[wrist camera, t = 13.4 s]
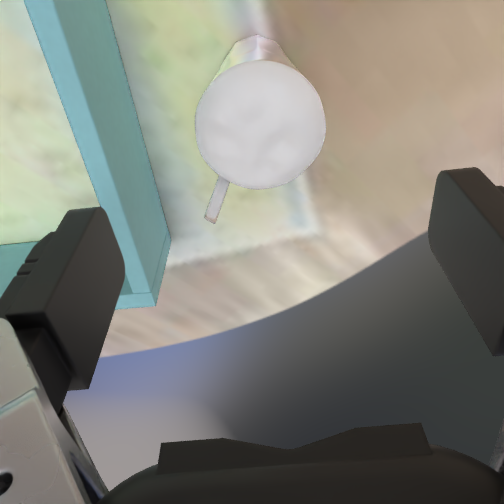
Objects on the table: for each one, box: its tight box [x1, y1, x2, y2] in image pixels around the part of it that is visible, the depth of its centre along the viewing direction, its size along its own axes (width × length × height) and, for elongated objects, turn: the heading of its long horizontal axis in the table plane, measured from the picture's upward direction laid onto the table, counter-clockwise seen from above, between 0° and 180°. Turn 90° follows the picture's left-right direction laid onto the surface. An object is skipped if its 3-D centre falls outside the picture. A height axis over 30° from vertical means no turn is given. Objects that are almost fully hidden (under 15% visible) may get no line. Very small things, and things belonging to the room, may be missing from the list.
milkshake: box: [195, 35, 326, 224], centre depth 18 cm, size 4×5×10 cm
